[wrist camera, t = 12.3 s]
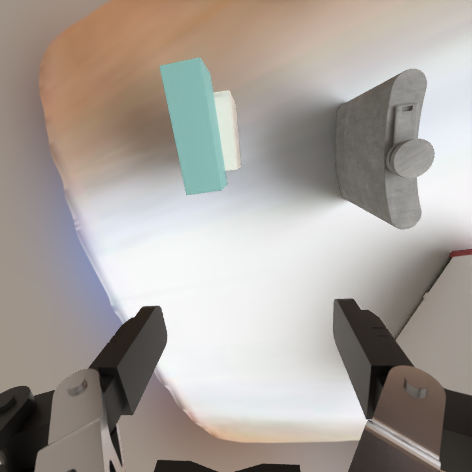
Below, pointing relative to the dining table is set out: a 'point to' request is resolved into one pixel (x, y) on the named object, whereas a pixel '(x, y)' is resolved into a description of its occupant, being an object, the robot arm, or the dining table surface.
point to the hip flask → (384, 149)
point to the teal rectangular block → (195, 125)
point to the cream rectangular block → (228, 129)
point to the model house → (444, 327)
